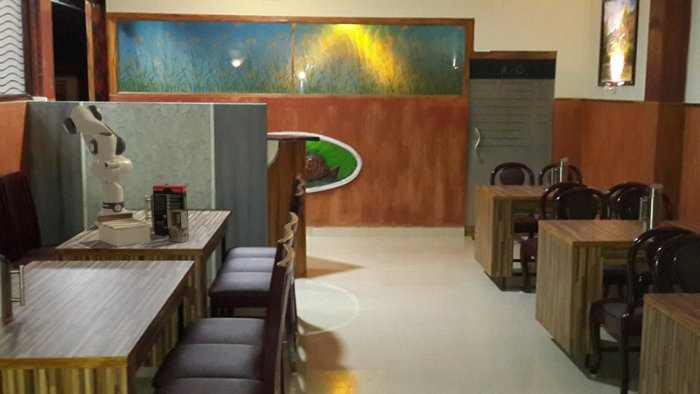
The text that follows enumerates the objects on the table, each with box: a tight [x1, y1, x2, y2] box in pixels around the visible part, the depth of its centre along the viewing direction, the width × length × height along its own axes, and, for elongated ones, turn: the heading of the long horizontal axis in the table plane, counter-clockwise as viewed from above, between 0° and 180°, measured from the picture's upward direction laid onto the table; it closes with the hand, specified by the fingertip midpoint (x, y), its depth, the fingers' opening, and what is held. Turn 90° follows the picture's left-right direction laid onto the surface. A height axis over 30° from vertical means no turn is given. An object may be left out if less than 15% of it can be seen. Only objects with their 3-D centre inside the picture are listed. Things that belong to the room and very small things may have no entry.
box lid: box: [97, 211, 151, 230], centre depth 381 cm, size 22×18×4 cm
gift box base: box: [97, 224, 151, 247], centre depth 382 cm, size 22×18×9 cm
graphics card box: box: [152, 184, 188, 236], centre depth 399 cm, size 17×7×27 cm, turn 84°
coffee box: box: [167, 209, 190, 243], centre depth 385 cm, size 9×6×16 cm
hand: (108, 188), depth 391 cm, fingers closed
